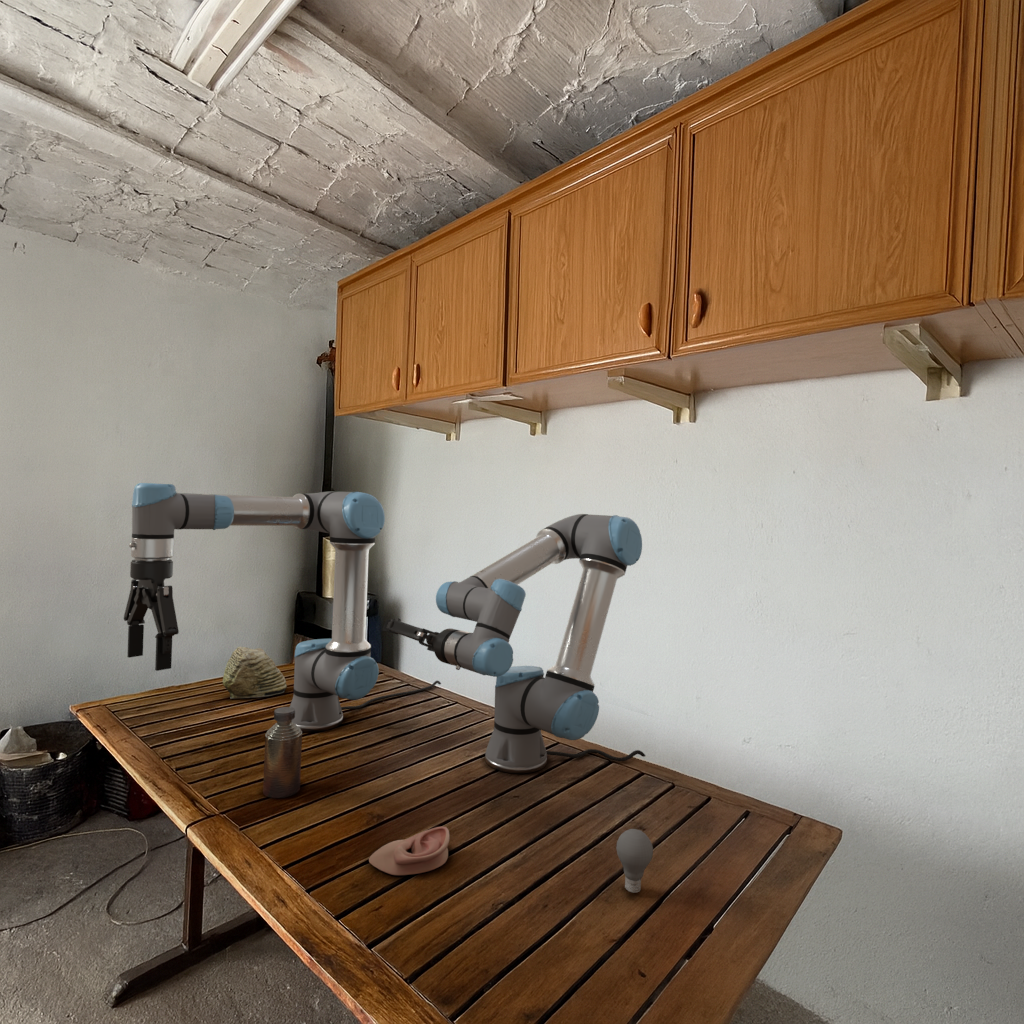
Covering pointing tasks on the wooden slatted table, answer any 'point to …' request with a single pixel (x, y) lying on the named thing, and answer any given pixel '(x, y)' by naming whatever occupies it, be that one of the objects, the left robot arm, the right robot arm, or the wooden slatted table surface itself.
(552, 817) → the wooden slatted table surface
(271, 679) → the fossil
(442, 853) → the anatomical model
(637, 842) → the light bulb
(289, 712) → the cap
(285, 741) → the bottle
